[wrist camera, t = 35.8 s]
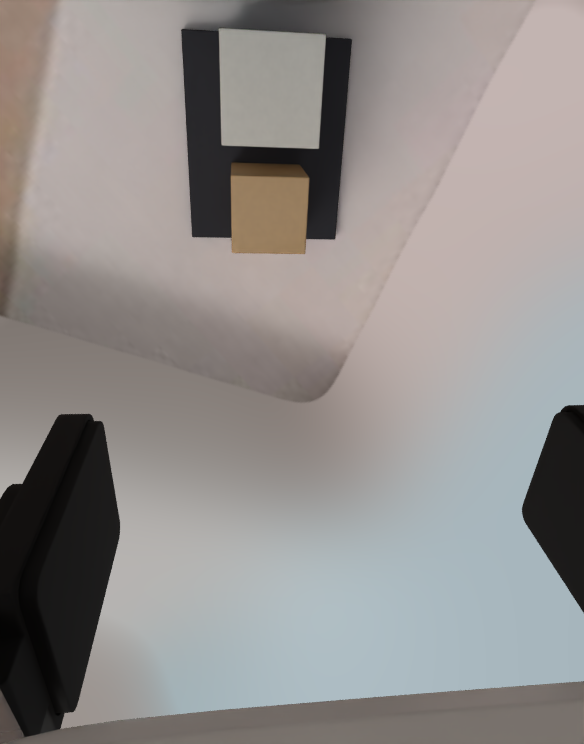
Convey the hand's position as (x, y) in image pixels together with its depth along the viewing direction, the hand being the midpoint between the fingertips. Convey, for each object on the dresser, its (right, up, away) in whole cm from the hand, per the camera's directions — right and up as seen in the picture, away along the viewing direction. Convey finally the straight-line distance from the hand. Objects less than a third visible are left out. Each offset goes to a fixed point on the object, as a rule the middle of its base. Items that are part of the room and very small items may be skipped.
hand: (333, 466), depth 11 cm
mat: (-3, +17, +23) cm, 28 cm away
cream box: (-2, +19, +21) cm, 29 cm away
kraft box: (-3, +14, +24) cm, 28 cm away
